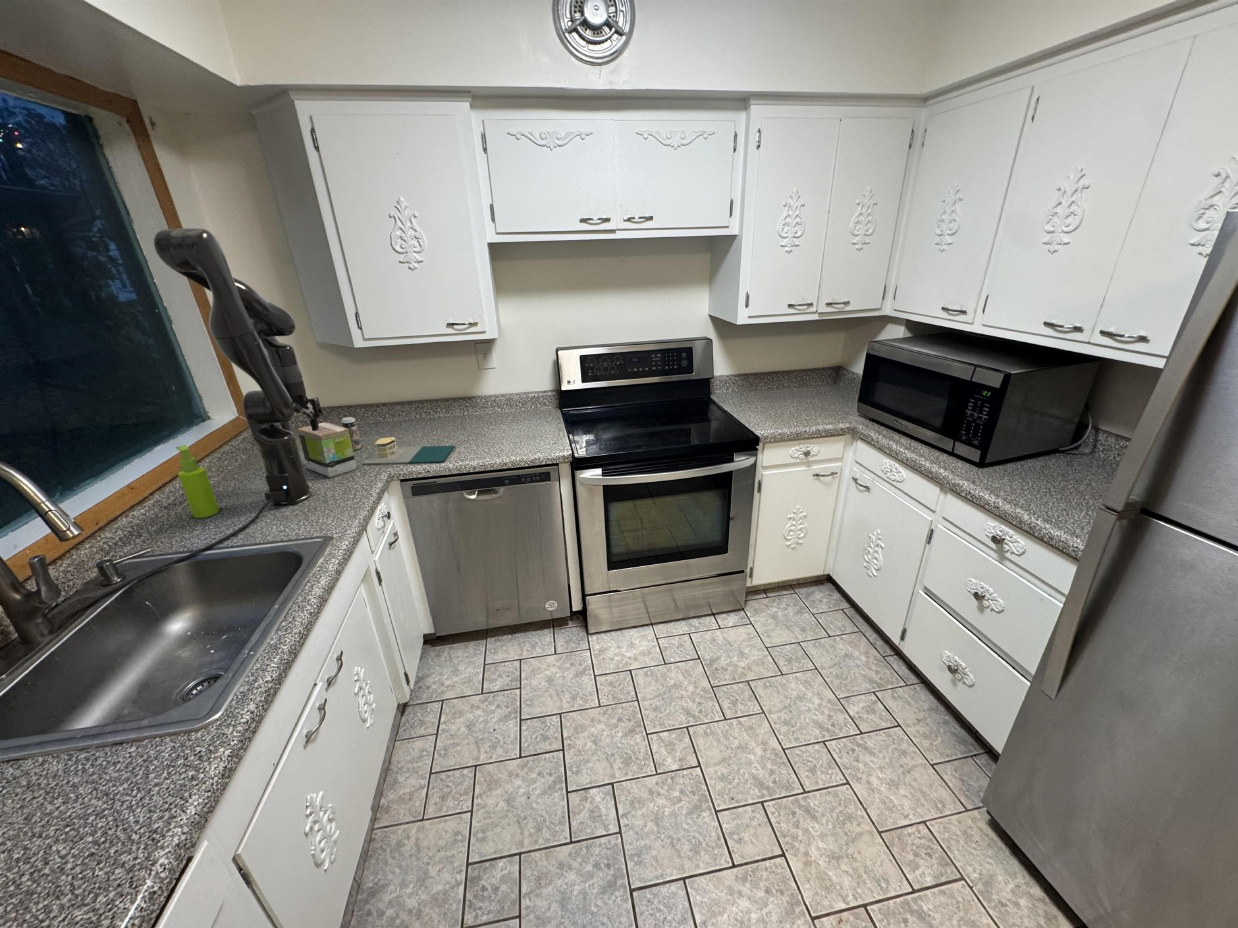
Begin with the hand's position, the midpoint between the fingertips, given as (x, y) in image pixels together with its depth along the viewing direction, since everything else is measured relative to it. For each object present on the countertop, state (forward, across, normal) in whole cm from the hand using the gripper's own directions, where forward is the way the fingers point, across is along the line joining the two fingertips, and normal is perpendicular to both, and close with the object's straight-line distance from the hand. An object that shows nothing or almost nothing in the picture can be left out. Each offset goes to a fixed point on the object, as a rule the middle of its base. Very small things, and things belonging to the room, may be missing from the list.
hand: (301, 430), depth 158 cm
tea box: (+17, +1, +10) cm, 20 cm away
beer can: (+17, 0, +30) cm, 35 cm away
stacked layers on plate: (+17, +16, +21) cm, 31 cm away
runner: (+17, +24, +21) cm, 36 cm away
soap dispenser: (+17, -20, -21) cm, 34 cm away
